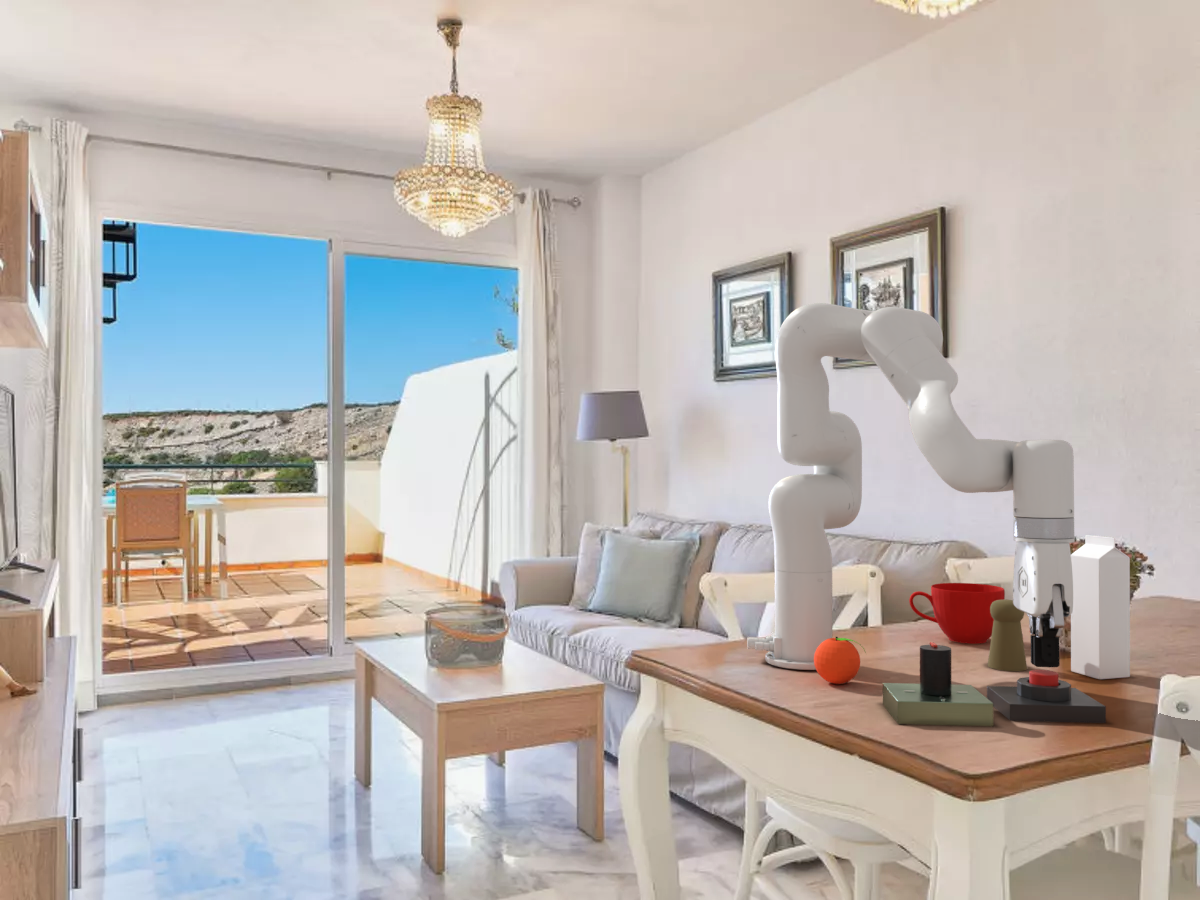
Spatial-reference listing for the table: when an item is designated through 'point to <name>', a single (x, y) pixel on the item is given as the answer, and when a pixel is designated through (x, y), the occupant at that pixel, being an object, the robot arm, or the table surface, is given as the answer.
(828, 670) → the clementine
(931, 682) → the cylinder
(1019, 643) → the cork
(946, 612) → the ceramic cup
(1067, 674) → the table surface
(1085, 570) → the milk
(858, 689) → the table surface
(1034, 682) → the button
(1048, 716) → the switch block
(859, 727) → the table surface
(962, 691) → the dial panel
